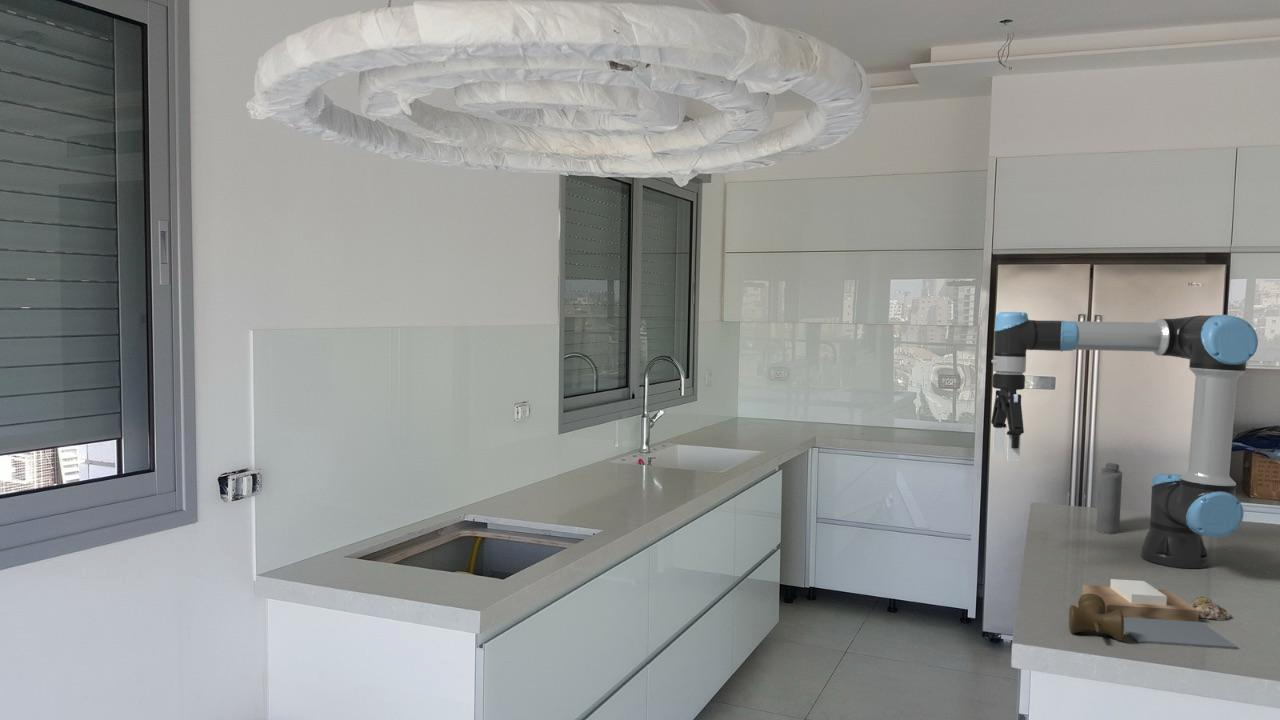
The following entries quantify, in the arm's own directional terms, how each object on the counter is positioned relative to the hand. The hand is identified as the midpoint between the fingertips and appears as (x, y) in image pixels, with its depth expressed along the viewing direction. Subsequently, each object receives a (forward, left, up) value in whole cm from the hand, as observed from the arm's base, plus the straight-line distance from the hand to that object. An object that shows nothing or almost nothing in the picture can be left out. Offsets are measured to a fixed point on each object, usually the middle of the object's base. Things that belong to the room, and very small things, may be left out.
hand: (1005, 457), depth 222 cm
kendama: (-6, +46, -28) cm, 54 cm away
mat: (-21, +45, -28) cm, 56 cm away
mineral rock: (-35, +30, -28) cm, 54 cm away
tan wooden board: (-21, +30, -28) cm, 45 cm away
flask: (-45, -49, -28) cm, 72 cm away
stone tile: (-21, +29, -25) cm, 44 cm away
